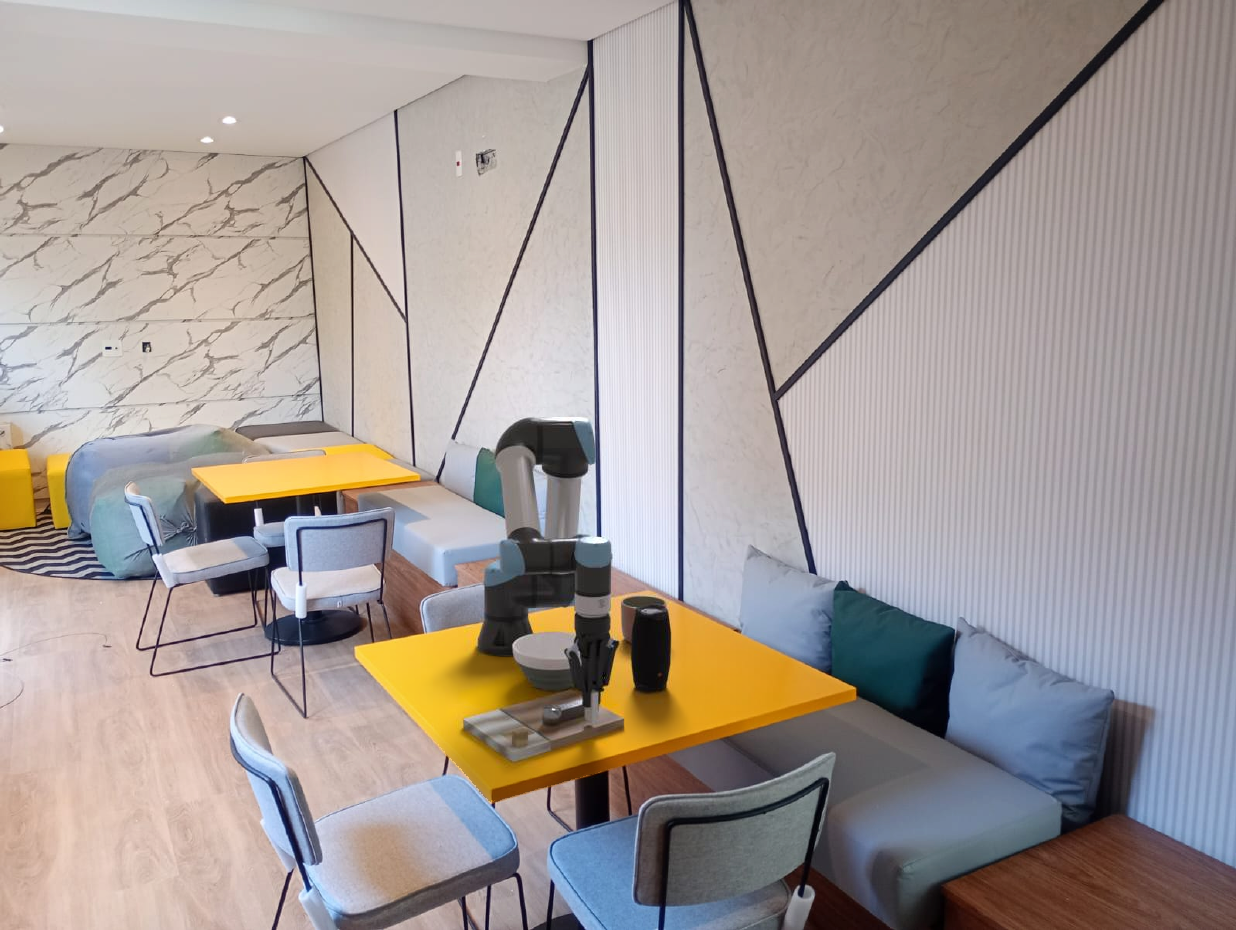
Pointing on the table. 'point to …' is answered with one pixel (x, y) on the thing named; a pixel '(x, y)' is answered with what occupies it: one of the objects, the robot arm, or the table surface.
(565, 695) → the board
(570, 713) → the door lever handle
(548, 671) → the bowl
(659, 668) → the portable speaker
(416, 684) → the table surface
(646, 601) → the planter
